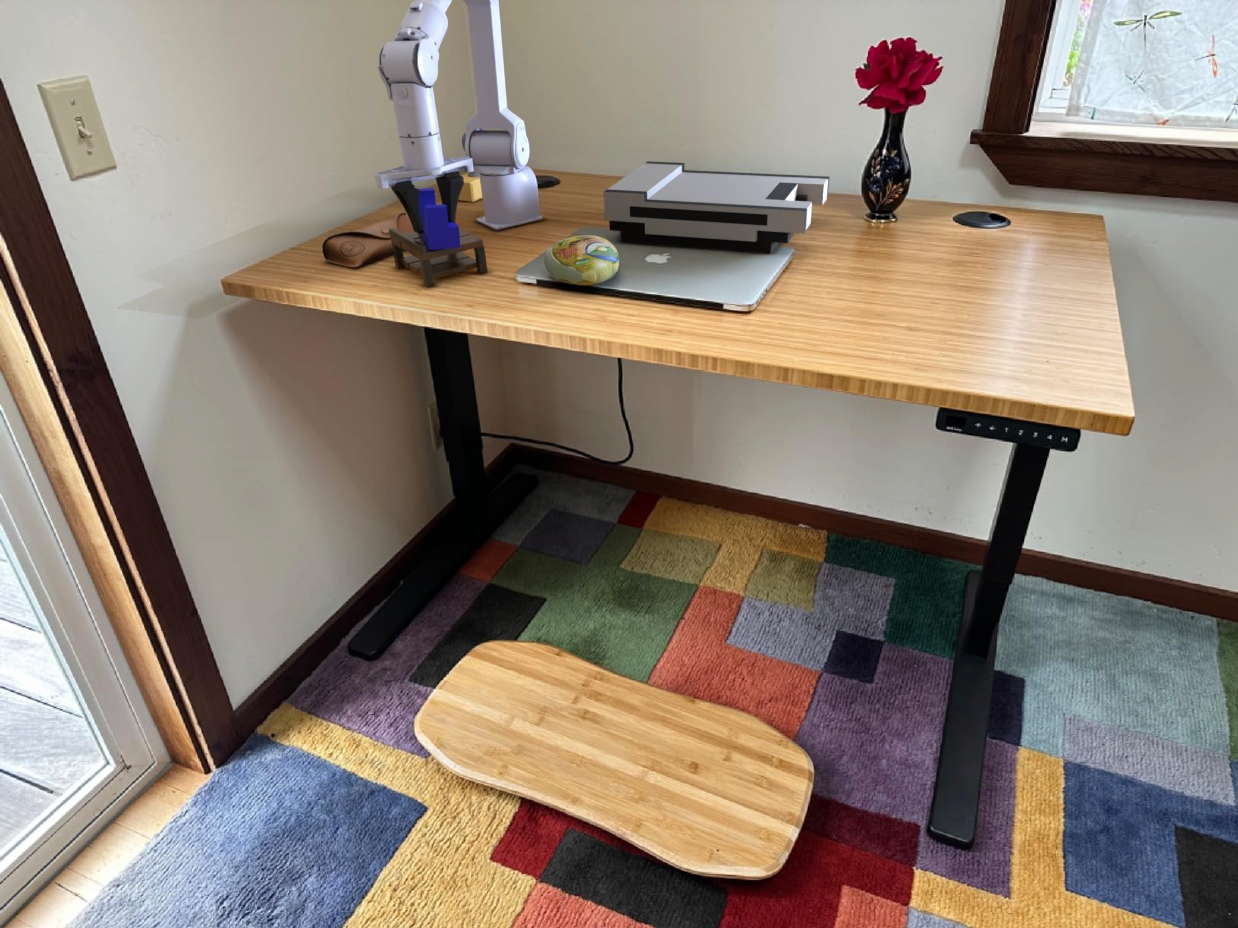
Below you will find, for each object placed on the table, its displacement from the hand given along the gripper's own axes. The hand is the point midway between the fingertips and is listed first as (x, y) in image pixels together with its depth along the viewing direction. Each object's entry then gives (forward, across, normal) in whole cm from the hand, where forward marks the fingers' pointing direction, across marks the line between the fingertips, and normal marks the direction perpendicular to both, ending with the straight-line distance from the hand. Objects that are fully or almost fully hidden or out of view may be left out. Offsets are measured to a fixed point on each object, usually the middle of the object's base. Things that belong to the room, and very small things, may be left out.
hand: (434, 228), depth 130 cm
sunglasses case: (+7, -3, +16) cm, 18 cm away
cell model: (+7, +15, -18) cm, 24 cm away
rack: (+6, 0, 0) cm, 6 cm away
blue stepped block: (+2, 0, -1) cm, 2 cm away
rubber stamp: (+7, +25, +37) cm, 45 cm away
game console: (+7, +44, -14) cm, 47 cm away
